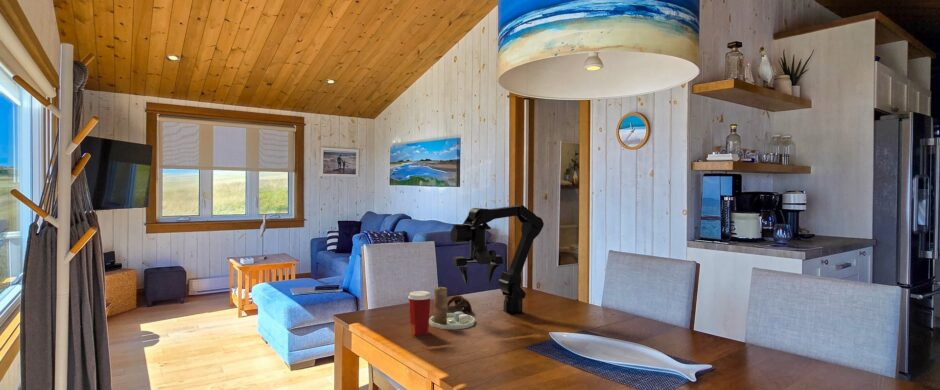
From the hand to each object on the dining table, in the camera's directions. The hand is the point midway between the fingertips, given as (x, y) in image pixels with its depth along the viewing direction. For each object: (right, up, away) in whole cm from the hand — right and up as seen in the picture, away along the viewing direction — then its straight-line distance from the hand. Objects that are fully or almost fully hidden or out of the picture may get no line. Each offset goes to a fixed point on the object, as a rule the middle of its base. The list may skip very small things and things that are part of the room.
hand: (477, 283), depth 187 cm
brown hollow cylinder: (-7, -13, +6) cm, 16 cm away
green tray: (-9, -13, -9) cm, 19 cm away
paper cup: (-20, -14, -21) cm, 32 cm away
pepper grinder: (-13, -12, -11) cm, 21 cm away
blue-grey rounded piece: (-7, -12, -5) cm, 15 cm away
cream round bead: (-5, -12, -9) cm, 16 cm away
